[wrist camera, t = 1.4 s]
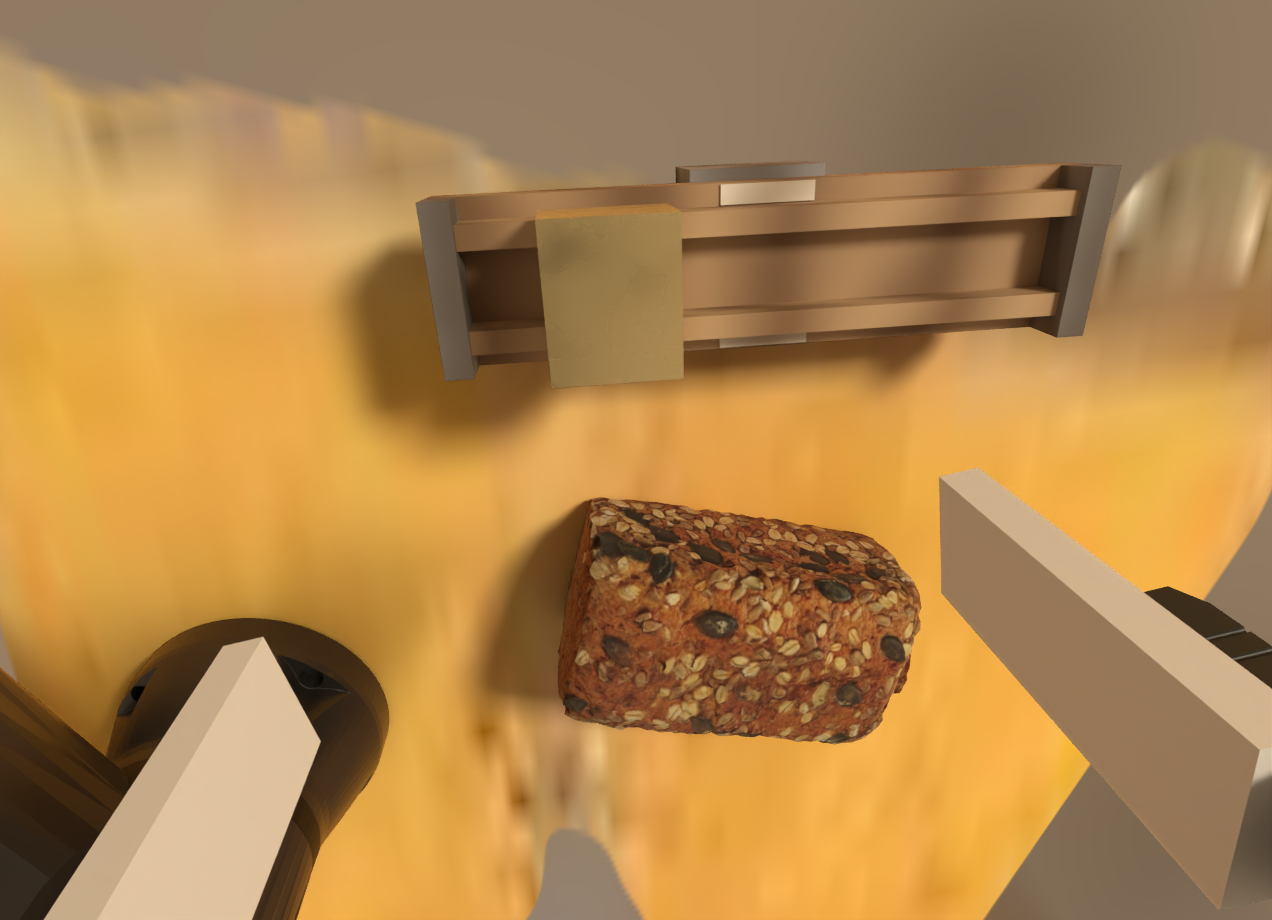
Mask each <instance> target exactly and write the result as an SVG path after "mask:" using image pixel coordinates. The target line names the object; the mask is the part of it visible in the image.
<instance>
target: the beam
mask: <svg viewBox="0 0 1272 920" xmlns="http://www.w3.org/2000/svg"><path fill="white" fill-rule="evenodd" d="M825 168H826V163H820V162H807V161H783V162H764V163H744V164H723V165H705V166H684V167H676V183H671V184H652V185H633V186H614V187H595V188H576V189H557V190H538V191H519V192H500V193H481V194H462V195H443V196H431V197H428V198H426V199H424V200H421V201H419V202H417V203H416V208H417V214H418V220H419V226H420V232H421V238H422V244H423V250H424V257H425V263H426V269H427V275H428V281H429V287H430V293H431V299H432V305H433V311H434V317H435V323H436V329H437V335H438V341H439V347H440V353H441V359H442V365H443V371H444V377H445V381H456V380H470V379H475V376H476V373H477V370H478V367H479V365H491V364H505V363H519V362H533V361H548V360H549V359H548V349H547V339H546V328H545V318H544V308H543V298H542V288H541V278H540V268H539V258H538V248H537V238H536V228H535V217H536V214H537V211H538V210H552V209H571V208H589V207H607V206H625V205H644V204H662V203H668V204H669V205H671V206H673V207H675V208H676V209H678V210H680V211H681V219H682V285H683V351H690V350H691V351H700V350H714V349H729V348H743V347H757V346H771V345H786V344H800V343H814V342H819V341H833V340H847V339H861V338H876V337H890V336H904V335H918V334H933V333H947V332H961V331H975V330H990V329H1004V328H1018V327H1032V328H1034V329H1037V330H1039V331H1042V332H1044V333H1047V334H1049V335H1052V336H1054V337H1071V336H1083V332H1084V327H1085V323H1086V319H1087V314H1088V310H1089V306H1090V301H1091V297H1092V292H1093V288H1094V284H1095V279H1096V275H1097V271H1098V266H1099V262H1100V258H1101V253H1102V249H1103V245H1104V240H1105V236H1106V231H1107V227H1108V223H1109V218H1110V214H1111V210H1112V205H1113V201H1114V197H1115V192H1116V188H1117V183H1118V179H1119V175H1120V170H1121V165H1103V164H1079V163H1053V164H1052V163H1051V164H1031V165H1013V166H995V167H994V166H993V167H975V168H956V169H937V170H918V171H900V172H880V173H861V174H842V175H825Z"/></svg>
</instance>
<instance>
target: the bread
mask: <svg viewBox="0 0 1272 920" xmlns="http://www.w3.org/2000/svg"><path fill="white" fill-rule="evenodd" d="M920 610H921V602H920V596H919V592H918V590H917V588H916V586H915V584H914V582H913V581H912V579H911V577H910V576H909V575H908V574H907V573H906V572H905V571H904V570H902V569H901V568H900V566H899V564H898V563H897V561H896V559H895V557H894V556H893V555H892V554H891V553H889V552H888V550H887V549H885V548H884V547H882V546H881V545H879V544H878V543H877V542H876V541H875V540H874V539H873V538H870V537H868V536H865V535H862V534H859V533H854V532H849V531H838V530H832V529H825V528H820V527H816V526H813V525H800V526H799V525H797V524H794V523H791V522H786V521H782V520H778V519H769V520H766V519H764V518H762V517H761V518H753V517H749V516H745V515H740V516H738V515H735V514H732V513H719V512H716V511H713V510H703V511H702V512H700V511H695V510H693V509H691V508H689V507H687V506H677V505H669V504H663V503H658V502H643V501H636V500H620V501H619V500H614V499H608V498H596V499H591V501H590V505H589V508H588V511H587V516H586V520H585V523H584V526H583V529H582V535H581V541H580V543H579V546H578V551H577V556H576V561H575V566H574V568H573V570H572V572H571V576H570V582H569V588H568V594H567V601H566V607H565V615H564V624H563V632H562V637H561V642H560V647H559V650H558V652H559V655H560V658H559V663H558V688H559V696H560V698H561V699H562V701H563V705H565V708H566V710H565V715H567V716H569V717H571V718H573V719H575V720H578V721H582V722H590V723H599V724H602V725H606V726H609V727H612V728H617V729H621V730H622V729H624V728H626V727H639V728H643V729H646V730H655V731H658V732H673V733H687V734H690V735H691V734H707V733H710V732H712V733H714V734H716V735H718V736H729V735H739V736H745V737H755V736H758V735H761V736H765V737H773V738H781V739H789V740H793V741H797V742H801V741H820V742H822V743H830V744H839V743H847V742H854V741H857V740H860V739H862V738H865V737H866V736H867V735H868V734H870V733H871V732H872V731H873V730H874V729H875V728H877V727H878V726H879V725H880V723H881V722H882V720H883V718H882V713H883V712H884V710H885V709H886V707H887V704H888V702H889V699H890V697H891V695H892V694H893V693H900V692H901V690H902V688H903V686H904V684H905V682H906V681H907V672H908V670H909V667H910V657H911V655H910V653H911V652H912V648H911V647H912V645H913V643H914V636H915V635H916V634H917V633H918V632H919V631H920V620H919V617H918V614H919V612H920Z"/></svg>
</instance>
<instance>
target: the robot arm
mask: <svg viewBox="0 0 1272 920" xmlns="http://www.w3.org/2000/svg"><path fill="white" fill-rule="evenodd" d="M939 490H940V542H941V593H942V594H943V595H944V597H945V598H946V599H947V600H948V601H949V602H950V603H951V605H952V606H953V607H954V608H955V609H956V610H957V611H958V613H959V614H960V615H961V616H962V617H963V618H964V619H965V621H966V622H967V623H968V624H969V625H970V626H971V627H972V629H973V630H974V631H975V632H976V633H977V634H978V635H979V637H980V638H981V639H982V640H983V641H984V642H985V643H986V645H987V646H988V647H989V648H990V649H991V650H992V651H993V653H994V654H995V655H996V656H997V657H998V658H999V659H1000V661H1001V662H1002V663H1003V664H1004V665H1005V666H1006V667H1007V669H1008V670H1009V671H1010V672H1011V673H1012V674H1013V675H1014V677H1015V678H1016V679H1017V680H1018V681H1019V682H1020V683H1021V685H1022V686H1023V687H1024V688H1025V689H1026V690H1027V692H1028V693H1029V694H1030V695H1031V696H1032V697H1033V698H1034V700H1035V701H1036V702H1037V703H1038V704H1039V705H1040V706H1041V708H1042V709H1043V710H1044V711H1045V712H1046V713H1047V714H1048V716H1049V717H1050V718H1051V719H1052V720H1053V721H1054V722H1055V724H1056V725H1057V726H1058V727H1059V728H1060V729H1061V730H1062V732H1063V733H1064V734H1065V735H1066V736H1067V737H1068V738H1069V740H1070V741H1071V742H1072V743H1073V744H1074V745H1075V746H1076V748H1077V749H1078V750H1079V751H1080V752H1081V753H1082V754H1083V756H1084V757H1085V758H1086V759H1087V760H1088V761H1089V762H1090V764H1091V765H1092V766H1093V767H1094V768H1095V769H1096V770H1097V772H1098V773H1099V774H1100V775H1101V776H1102V777H1103V778H1104V780H1105V781H1106V782H1107V783H1108V784H1109V785H1110V786H1111V788H1112V789H1113V790H1114V791H1115V792H1116V793H1117V795H1118V796H1119V797H1120V798H1121V799H1122V800H1123V801H1124V803H1125V804H1126V805H1127V806H1128V807H1129V808H1130V809H1131V811H1132V812H1133V813H1134V814H1135V815H1136V816H1137V817H1138V819H1139V820H1140V821H1141V822H1142V823H1143V824H1144V825H1145V827H1146V828H1147V829H1148V830H1149V831H1150V832H1151V833H1152V834H1153V836H1154V837H1155V838H1156V839H1157V840H1158V841H1159V843H1160V844H1161V845H1162V846H1163V847H1164V848H1165V849H1166V851H1167V852H1168V853H1169V854H1170V855H1171V856H1172V857H1173V859H1174V860H1175V861H1176V862H1177V863H1178V864H1179V865H1180V867H1181V868H1182V869H1183V870H1184V871H1185V872H1186V873H1187V875H1188V876H1189V877H1190V878H1191V879H1192V880H1193V881H1194V883H1195V884H1196V885H1197V886H1198V887H1199V888H1200V890H1201V891H1202V892H1203V893H1204V894H1205V895H1206V896H1207V898H1208V899H1209V900H1210V901H1211V902H1212V903H1213V904H1214V906H1215V907H1216V908H1217V909H1218V910H1219V911H1223V910H1227V909H1231V908H1235V907H1239V906H1243V905H1247V904H1252V903H1256V902H1260V901H1264V900H1268V899H1272V646H1271V645H1269V644H1268V643H1266V642H1265V641H1264V640H1262V639H1261V638H1259V637H1258V636H1256V635H1255V634H1253V633H1252V632H1248V633H1247V632H1246V631H1245V629H1244V627H1243V626H1242V625H1240V624H1239V623H1238V622H1236V621H1235V620H1233V619H1232V618H1230V617H1229V616H1227V615H1226V614H1225V613H1223V612H1222V611H1220V610H1219V609H1217V608H1216V607H1215V606H1213V605H1212V604H1210V603H1208V602H1205V601H1203V600H1200V599H1198V598H1195V597H1193V596H1191V595H1188V594H1186V593H1183V592H1181V591H1178V590H1176V589H1173V588H1171V587H1168V586H1167V587H1163V588H1159V589H1155V590H1151V591H1147V592H1142V591H1141V590H1140V589H1139V588H1137V587H1136V586H1135V585H1133V584H1132V583H1131V582H1129V581H1128V580H1127V579H1125V578H1124V577H1123V576H1121V575H1120V574H1119V573H1117V572H1116V571H1115V570H1113V569H1112V568H1111V567H1109V566H1108V565H1107V564H1105V563H1104V562H1103V561H1101V560H1100V559H1099V558H1097V557H1096V556H1095V555H1093V554H1092V553H1091V552H1089V551H1088V550H1087V549H1085V548H1084V547H1083V546H1081V545H1080V544H1079V543H1077V542H1076V541H1075V540H1073V539H1072V538H1071V537H1069V536H1068V535H1067V534H1065V533H1064V532H1063V531H1061V530H1060V529H1059V528H1057V527H1056V526H1055V525H1054V524H1052V523H1051V522H1050V521H1048V520H1047V519H1046V518H1044V517H1043V516H1042V515H1040V514H1039V513H1038V512H1036V511H1035V510H1034V509H1032V508H1031V507H1030V506H1028V505H1027V504H1026V503H1024V502H1023V501H1022V500H1020V499H1019V498H1018V497H1016V496H1015V495H1014V494H1012V493H1011V492H1010V491H1008V490H1007V489H1006V488H1004V487H1003V486H1002V485H1000V484H999V483H998V482H996V481H995V480H994V479H992V478H991V477H990V476H988V475H987V474H986V473H984V472H983V471H982V470H980V469H979V468H975V469H970V470H966V471H962V472H958V473H953V474H949V475H945V476H941V477H939ZM388 727H389V711H388V705H387V701H386V698H385V695H384V692H383V690H382V688H381V686H380V684H379V682H378V681H377V679H376V677H375V676H374V675H373V673H372V672H371V671H370V669H369V668H368V667H367V666H366V665H365V664H364V663H363V662H362V661H361V660H360V659H359V658H358V657H357V656H356V655H354V654H353V653H352V652H351V651H349V650H348V649H347V648H345V647H344V646H342V645H341V644H339V643H338V642H336V641H334V640H332V639H330V638H329V637H327V636H325V635H322V634H320V633H318V632H315V631H313V630H310V629H308V628H305V627H302V626H298V625H295V624H291V623H286V622H282V621H276V620H268V619H255V618H241V619H229V620H221V621H216V622H211V623H207V624H204V625H201V626H197V627H195V628H192V629H190V630H187V631H185V632H183V633H181V634H179V635H177V636H176V637H174V638H172V639H171V640H169V641H168V642H167V643H165V644H164V645H163V646H162V647H160V648H159V649H158V650H157V651H156V652H155V653H154V654H153V656H152V657H151V658H150V659H149V661H148V662H147V663H146V664H145V666H144V667H143V668H142V669H141V671H140V672H139V673H138V675H137V676H136V677H135V678H134V680H133V681H132V682H131V684H130V685H129V687H128V689H127V690H126V692H125V694H124V696H123V698H122V701H121V703H120V706H119V709H118V713H117V717H116V720H115V724H114V727H113V731H112V735H111V738H110V742H109V746H108V749H107V753H106V756H104V755H103V754H102V753H100V752H99V751H98V750H97V749H95V748H94V747H93V746H92V745H91V744H89V743H88V742H87V741H86V740H85V739H84V738H82V737H81V736H80V735H79V734H78V733H76V732H75V731H74V730H73V729H72V728H71V727H69V726H68V725H67V724H66V723H65V722H63V721H62V720H61V719H60V718H59V717H58V716H56V715H55V714H54V713H53V712H52V711H50V710H49V709H48V708H47V707H46V706H45V705H43V704H42V703H41V702H40V701H39V700H37V699H36V698H35V697H34V696H33V695H32V694H30V693H29V692H28V691H27V690H26V689H24V688H23V687H22V686H21V685H20V684H19V683H17V682H16V681H15V680H14V679H13V678H11V677H10V676H9V675H8V674H7V673H5V672H4V671H3V670H2V669H1V668H0V920H297V917H298V914H299V911H300V908H301V904H302V901H303V898H304V895H305V892H306V889H307V886H308V883H309V880H310V876H311V872H312V870H313V867H314V864H315V861H316V858H317V855H318V853H319V850H320V847H321V845H322V844H323V842H324V841H325V840H326V838H327V837H328V836H329V834H330V833H331V832H332V830H333V829H334V828H335V826H336V825H337V824H338V822H339V821H340V820H341V818H342V817H343V816H344V814H345V813H346V812H347V810H348V809H349V807H350V806H351V805H352V803H353V802H354V800H355V799H356V797H357V796H358V795H359V793H360V792H361V791H362V790H363V789H364V788H365V787H366V785H367V784H368V782H369V781H370V779H371V778H372V776H373V774H374V772H375V770H376V768H377V766H378V763H379V760H380V757H381V754H382V751H383V747H384V744H385V740H386V737H387V733H388Z"/></svg>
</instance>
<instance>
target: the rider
mask: <svg viewBox="0 0 1272 920" xmlns="http://www.w3.org/2000/svg"><path fill="white" fill-rule="evenodd" d="M535 228H536V238H537V248H538V258H539V268H540V278H541V288H542V298H543V308H544V318H545V328H546V339H547V349H548V359H549V369H550V379H551V389H552V388H565V387H579V386H593V385H607V384H620V383H634V382H648V381H661V380H675V379H684V351H683V285H682V219H681V211H680V210H678V209H676V208H675V207H673V206H671V205H669V204H668V203H662V204H644V205H625V206H607V207H589V208H571V209H552V210H538V211H537V214H536V217H535Z"/></svg>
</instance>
